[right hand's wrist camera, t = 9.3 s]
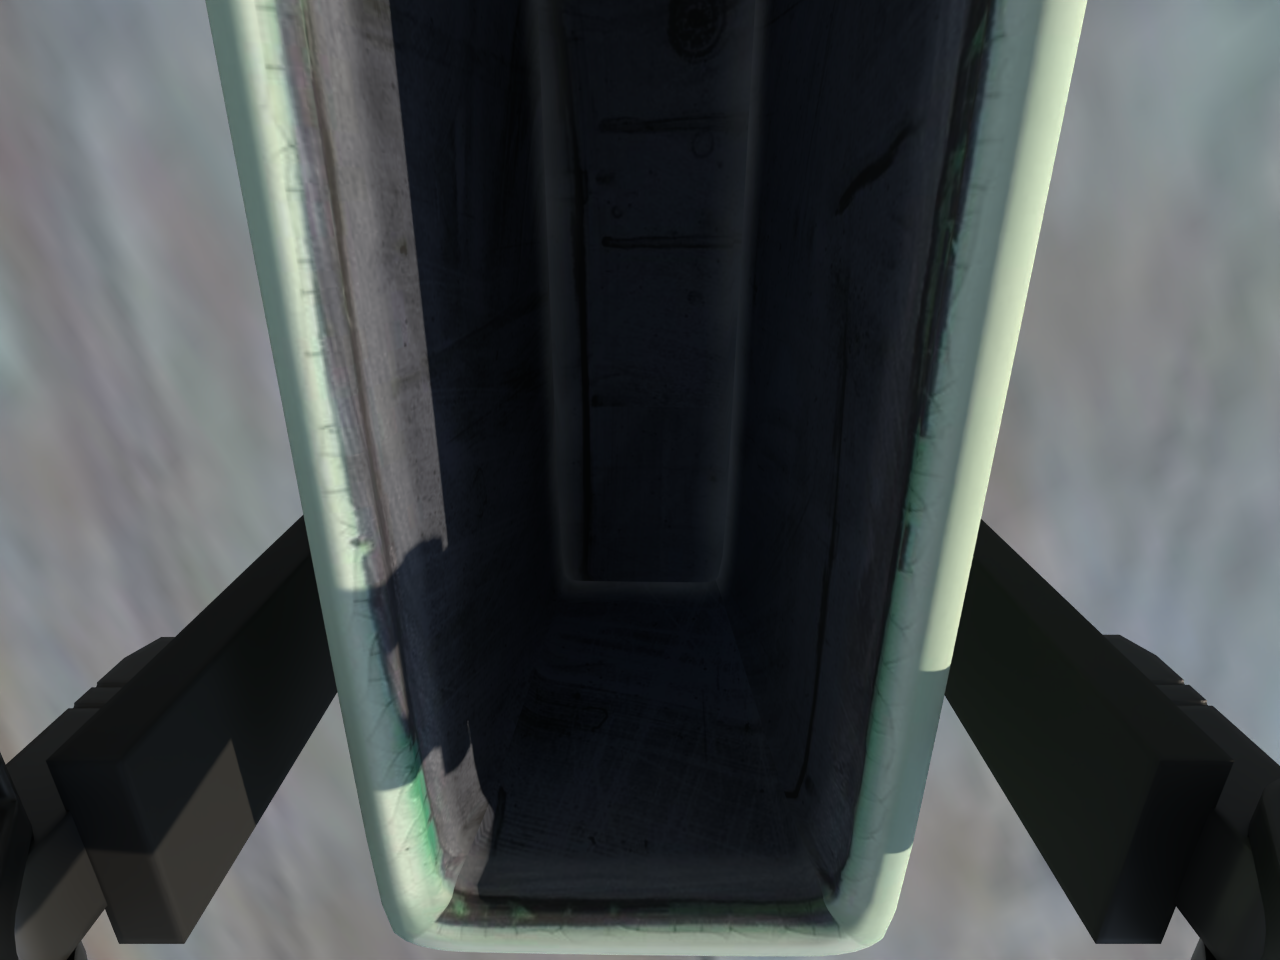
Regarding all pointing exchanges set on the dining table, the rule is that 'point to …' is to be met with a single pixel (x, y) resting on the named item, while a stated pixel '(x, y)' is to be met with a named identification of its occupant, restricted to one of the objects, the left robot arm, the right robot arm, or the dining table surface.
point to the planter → (643, 432)
